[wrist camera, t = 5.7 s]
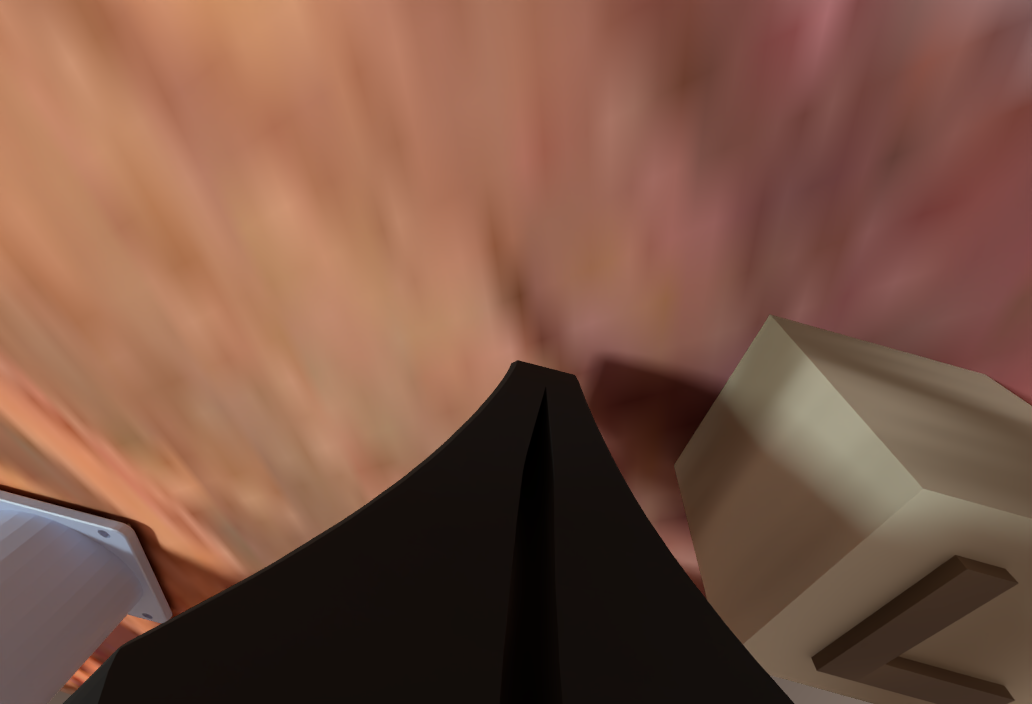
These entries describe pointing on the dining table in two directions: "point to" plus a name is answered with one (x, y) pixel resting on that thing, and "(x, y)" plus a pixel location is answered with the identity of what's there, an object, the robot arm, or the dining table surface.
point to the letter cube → (867, 520)
